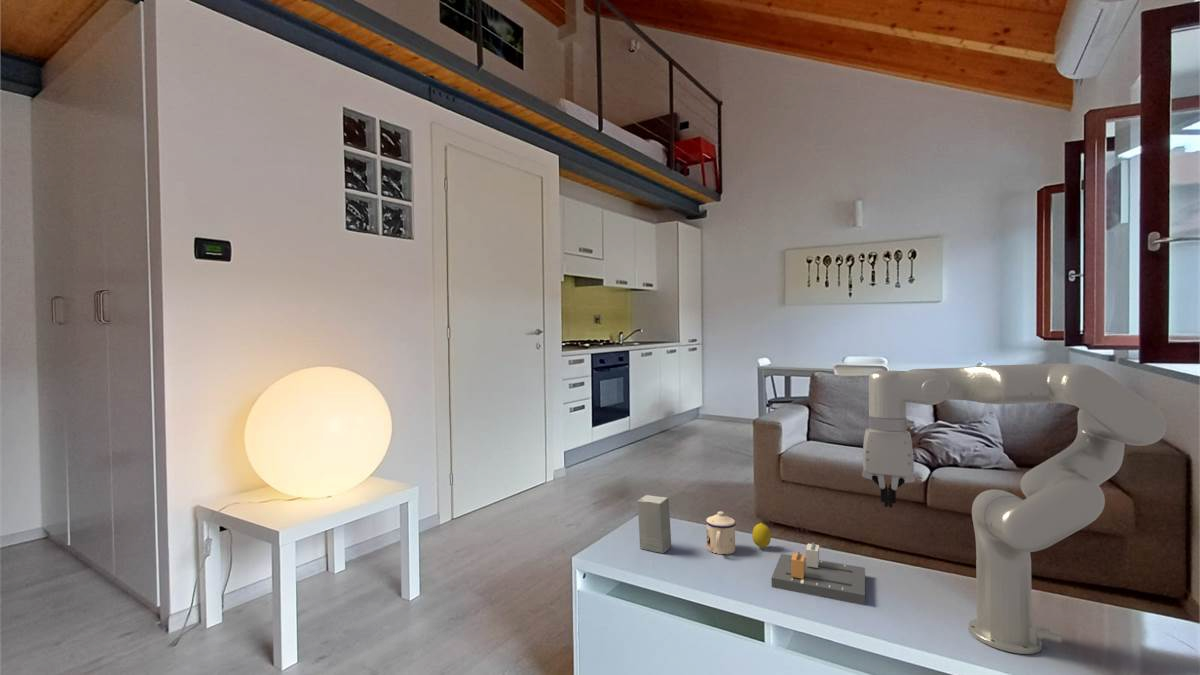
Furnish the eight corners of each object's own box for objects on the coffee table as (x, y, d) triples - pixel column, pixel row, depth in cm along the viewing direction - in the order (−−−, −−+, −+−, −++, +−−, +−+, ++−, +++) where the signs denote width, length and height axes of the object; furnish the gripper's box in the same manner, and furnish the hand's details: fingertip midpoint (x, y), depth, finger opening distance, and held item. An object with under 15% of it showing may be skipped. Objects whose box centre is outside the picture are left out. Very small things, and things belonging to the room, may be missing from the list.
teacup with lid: (708, 542, 171) (707, 506, 171) (737, 546, 168) (736, 509, 168) (702, 556, 160) (702, 517, 160) (733, 560, 157) (733, 521, 157)
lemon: (768, 545, 169) (768, 520, 169) (772, 552, 163) (772, 526, 163) (750, 544, 169) (750, 519, 169) (754, 551, 164) (754, 525, 164)
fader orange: (805, 571, 143) (805, 552, 143) (803, 578, 138) (803, 559, 138) (793, 569, 144) (793, 550, 144) (791, 576, 140) (791, 557, 140)
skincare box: (671, 547, 167) (671, 497, 167) (661, 555, 161) (661, 502, 161) (647, 542, 172) (647, 493, 172) (637, 549, 166) (637, 498, 166)
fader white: (819, 561, 149) (819, 543, 150) (817, 567, 145) (817, 549, 145) (807, 559, 151) (807, 541, 151) (806, 565, 146) (806, 547, 146)
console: (865, 576, 146) (865, 567, 146) (864, 605, 130) (864, 594, 130) (781, 561, 156) (781, 553, 156) (771, 587, 140) (771, 577, 140)
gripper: (924, 424, 121) (924, 505, 121) (851, 420, 128) (852, 497, 128) (927, 429, 115) (928, 515, 114) (850, 425, 121) (851, 505, 121)
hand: (888, 505), depth 121 cm, fingers closed
